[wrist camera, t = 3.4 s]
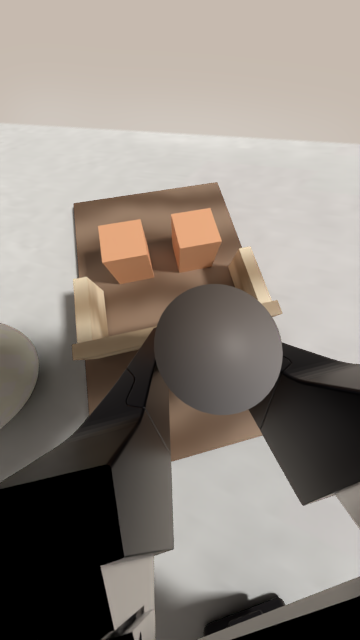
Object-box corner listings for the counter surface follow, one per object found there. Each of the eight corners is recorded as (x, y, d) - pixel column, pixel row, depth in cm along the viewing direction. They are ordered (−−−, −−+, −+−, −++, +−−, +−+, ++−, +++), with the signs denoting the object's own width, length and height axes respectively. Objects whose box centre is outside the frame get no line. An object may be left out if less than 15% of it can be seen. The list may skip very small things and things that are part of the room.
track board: (302, 419, 14) (308, 422, 13) (97, 477, 13) (94, 483, 12) (216, 187, 21) (217, 182, 20) (76, 208, 19) (73, 203, 19)
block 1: (154, 277, 17) (147, 254, 13) (120, 284, 16) (102, 262, 12) (148, 248, 17) (140, 218, 14) (115, 254, 17) (97, 225, 13)
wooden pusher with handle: (269, 343, 15) (633, 304, 3) (96, 385, 14) (-445, 599, 2) (240, 264, 17) (387, 59, 5) (88, 293, 16) (-181, 111, 4)
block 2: (211, 266, 17) (221, 241, 13) (179, 272, 17) (180, 248, 13) (203, 239, 18) (210, 207, 14) (172, 244, 18) (170, 214, 14)
